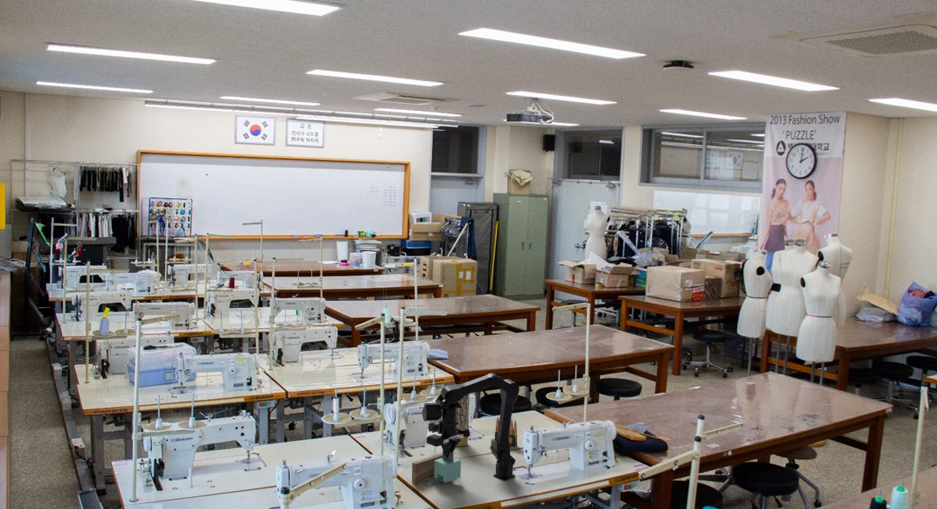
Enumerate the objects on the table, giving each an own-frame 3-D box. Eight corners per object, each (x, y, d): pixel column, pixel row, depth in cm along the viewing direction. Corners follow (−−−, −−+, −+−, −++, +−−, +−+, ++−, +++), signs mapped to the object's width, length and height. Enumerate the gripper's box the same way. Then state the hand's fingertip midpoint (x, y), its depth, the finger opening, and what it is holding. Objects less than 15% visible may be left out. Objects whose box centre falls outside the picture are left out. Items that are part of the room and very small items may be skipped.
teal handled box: (460, 477, 313) (461, 451, 311) (445, 482, 307) (446, 456, 306) (449, 472, 317) (449, 446, 316) (434, 477, 312) (434, 451, 310)
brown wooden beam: (459, 474, 322) (460, 455, 321) (422, 487, 308) (423, 467, 307) (448, 469, 326) (449, 450, 325) (411, 482, 312) (412, 462, 311)
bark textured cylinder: (466, 447, 352) (467, 392, 349) (451, 446, 353) (452, 391, 350) (469, 442, 358) (470, 388, 356) (454, 440, 360) (456, 387, 357)
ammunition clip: (494, 442, 360) (495, 416, 358) (496, 441, 361) (496, 415, 360) (515, 447, 354) (516, 421, 353) (517, 445, 356) (518, 419, 355)
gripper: (452, 409, 322) (451, 446, 323) (417, 418, 308) (416, 457, 310) (471, 415, 314) (470, 453, 316) (436, 425, 301) (435, 465, 302)
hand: (448, 457), depth 311 cm, fingers closed on teal handled box
